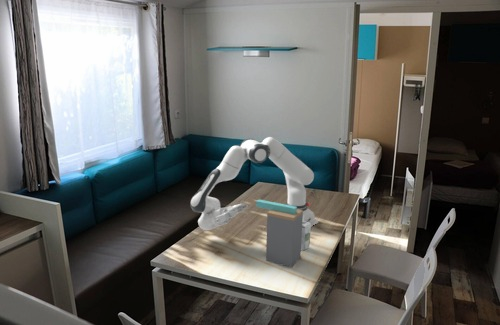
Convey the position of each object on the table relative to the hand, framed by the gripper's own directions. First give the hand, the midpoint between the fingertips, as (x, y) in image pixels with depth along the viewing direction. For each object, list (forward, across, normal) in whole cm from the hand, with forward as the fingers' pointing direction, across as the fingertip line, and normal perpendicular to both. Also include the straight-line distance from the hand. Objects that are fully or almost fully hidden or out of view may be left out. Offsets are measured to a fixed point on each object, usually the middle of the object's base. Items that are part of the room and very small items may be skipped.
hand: (242, 208), depth 224 cm
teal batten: (+18, 0, +7) cm, 20 cm away
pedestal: (+10, 0, +32) cm, 33 cm away
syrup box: (+13, +18, +34) cm, 40 cm away
